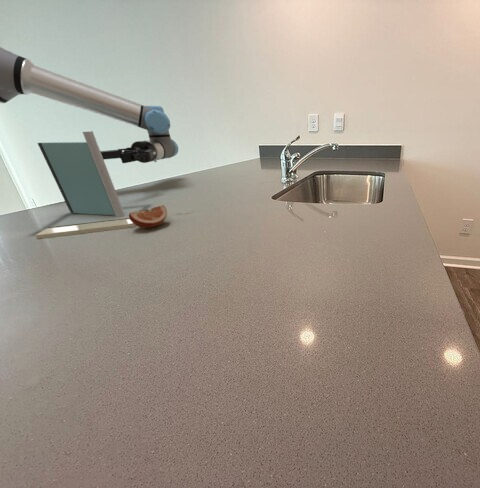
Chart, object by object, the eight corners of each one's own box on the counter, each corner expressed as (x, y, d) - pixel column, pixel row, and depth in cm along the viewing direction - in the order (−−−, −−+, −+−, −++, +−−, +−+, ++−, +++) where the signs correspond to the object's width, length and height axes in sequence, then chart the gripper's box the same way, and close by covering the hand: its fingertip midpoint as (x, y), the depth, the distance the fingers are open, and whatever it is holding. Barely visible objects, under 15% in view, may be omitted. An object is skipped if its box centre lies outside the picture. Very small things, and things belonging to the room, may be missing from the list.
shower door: (70, 213, 74) (37, 142, 66) (101, 203, 83) (75, 140, 74) (114, 215, 72) (85, 142, 64) (141, 205, 80) (119, 139, 72)
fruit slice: (163, 219, 72) (157, 202, 70) (176, 224, 69) (171, 206, 66) (130, 229, 66) (122, 211, 64) (142, 235, 62) (135, 215, 60)
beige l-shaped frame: (37, 239, 62) (-21, 135, 52) (71, 217, 75) (30, 132, 65) (133, 227, 67) (98, 131, 57) (149, 209, 81) (122, 129, 71)
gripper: (181, 161, 99) (143, 171, 80) (119, 161, 100) (67, 171, 81) (176, 140, 96) (135, 145, 76) (112, 141, 97) (56, 146, 78)
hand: (100, 158), depth 79 cm, fingers open, 13 cm apart
